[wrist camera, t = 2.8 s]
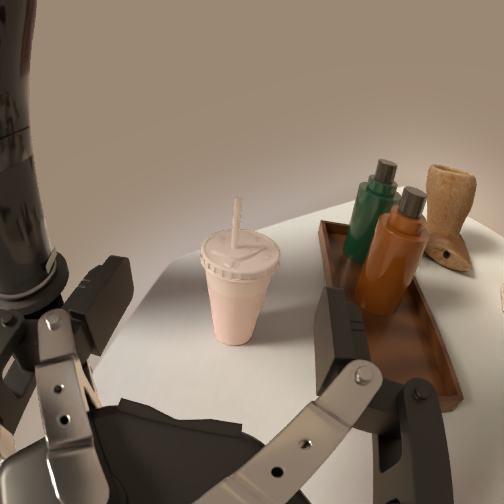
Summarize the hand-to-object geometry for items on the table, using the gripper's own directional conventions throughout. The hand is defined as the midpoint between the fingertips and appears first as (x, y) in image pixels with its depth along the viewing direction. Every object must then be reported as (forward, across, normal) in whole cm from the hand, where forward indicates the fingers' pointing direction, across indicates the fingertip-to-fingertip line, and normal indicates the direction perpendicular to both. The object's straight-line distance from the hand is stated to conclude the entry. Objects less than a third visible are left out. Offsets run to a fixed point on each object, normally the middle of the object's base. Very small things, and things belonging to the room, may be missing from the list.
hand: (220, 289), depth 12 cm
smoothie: (+11, 0, +15) cm, 19 cm away
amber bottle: (+18, -16, +14) cm, 28 cm away
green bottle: (+28, -16, +14) cm, 35 cm away
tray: (+18, -16, +15) cm, 28 cm away
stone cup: (+36, -33, +15) cm, 51 cm away
